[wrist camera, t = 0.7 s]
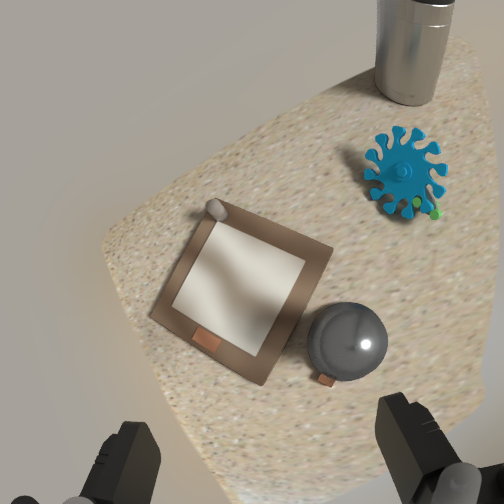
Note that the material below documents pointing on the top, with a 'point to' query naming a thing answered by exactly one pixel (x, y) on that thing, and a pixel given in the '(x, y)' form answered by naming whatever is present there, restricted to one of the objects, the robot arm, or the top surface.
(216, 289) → the mount board
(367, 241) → the top surface
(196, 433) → the top surface
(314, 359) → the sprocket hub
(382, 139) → the gear
